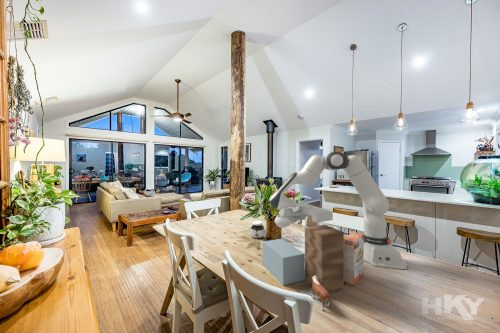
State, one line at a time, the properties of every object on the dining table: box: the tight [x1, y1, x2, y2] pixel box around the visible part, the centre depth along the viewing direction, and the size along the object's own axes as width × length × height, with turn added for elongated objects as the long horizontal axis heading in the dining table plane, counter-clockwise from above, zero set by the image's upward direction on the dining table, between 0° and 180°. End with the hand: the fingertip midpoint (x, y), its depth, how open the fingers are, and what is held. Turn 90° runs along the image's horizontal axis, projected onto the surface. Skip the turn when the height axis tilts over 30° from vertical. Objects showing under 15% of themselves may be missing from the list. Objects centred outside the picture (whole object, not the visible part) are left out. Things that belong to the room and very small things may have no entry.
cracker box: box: [343, 231, 365, 286], centre depth 106 cm, size 14×6×21 cm, turn 136°
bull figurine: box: [310, 276, 331, 311], centre depth 89 cm, size 4×13×8 cm, turn 7°
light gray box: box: [296, 202, 334, 223], centre depth 106 cm, size 22×9×4 cm, turn 22°
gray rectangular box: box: [262, 238, 305, 286], centre depth 113 cm, size 22×12×13 cm, turn 22°
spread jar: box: [250, 220, 267, 240], centre depth 166 cm, size 12×11×12 cm
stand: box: [304, 224, 345, 294], centre depth 100 cm, size 12×12×26 cm
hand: (304, 207), depth 114 cm, fingers closed on light gray box, 4 cm apart
